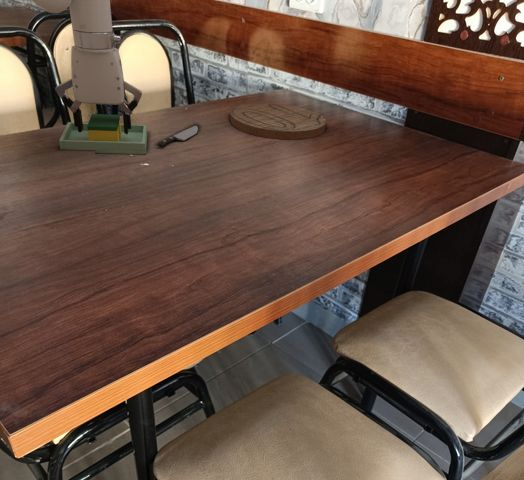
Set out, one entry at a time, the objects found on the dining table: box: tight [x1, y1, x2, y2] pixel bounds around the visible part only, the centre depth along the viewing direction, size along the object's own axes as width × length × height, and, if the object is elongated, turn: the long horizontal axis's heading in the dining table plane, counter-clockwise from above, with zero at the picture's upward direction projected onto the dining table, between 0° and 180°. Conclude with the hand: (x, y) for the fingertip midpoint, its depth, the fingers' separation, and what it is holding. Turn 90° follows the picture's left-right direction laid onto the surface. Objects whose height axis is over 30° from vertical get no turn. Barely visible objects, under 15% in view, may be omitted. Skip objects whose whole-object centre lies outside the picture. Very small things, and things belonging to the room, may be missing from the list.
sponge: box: [87, 113, 122, 142], centre depth 110 cm, size 6×9×4 cm, turn 8°
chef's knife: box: [157, 125, 199, 148], centre depth 118 cm, size 19×1×3 cm
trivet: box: [230, 102, 327, 141], centre depth 132 cm, size 25×25×2 cm
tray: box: [58, 121, 148, 155], centre depth 111 cm, size 17×13×2 cm
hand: (103, 131), depth 110 cm, fingers open, 9 cm apart
